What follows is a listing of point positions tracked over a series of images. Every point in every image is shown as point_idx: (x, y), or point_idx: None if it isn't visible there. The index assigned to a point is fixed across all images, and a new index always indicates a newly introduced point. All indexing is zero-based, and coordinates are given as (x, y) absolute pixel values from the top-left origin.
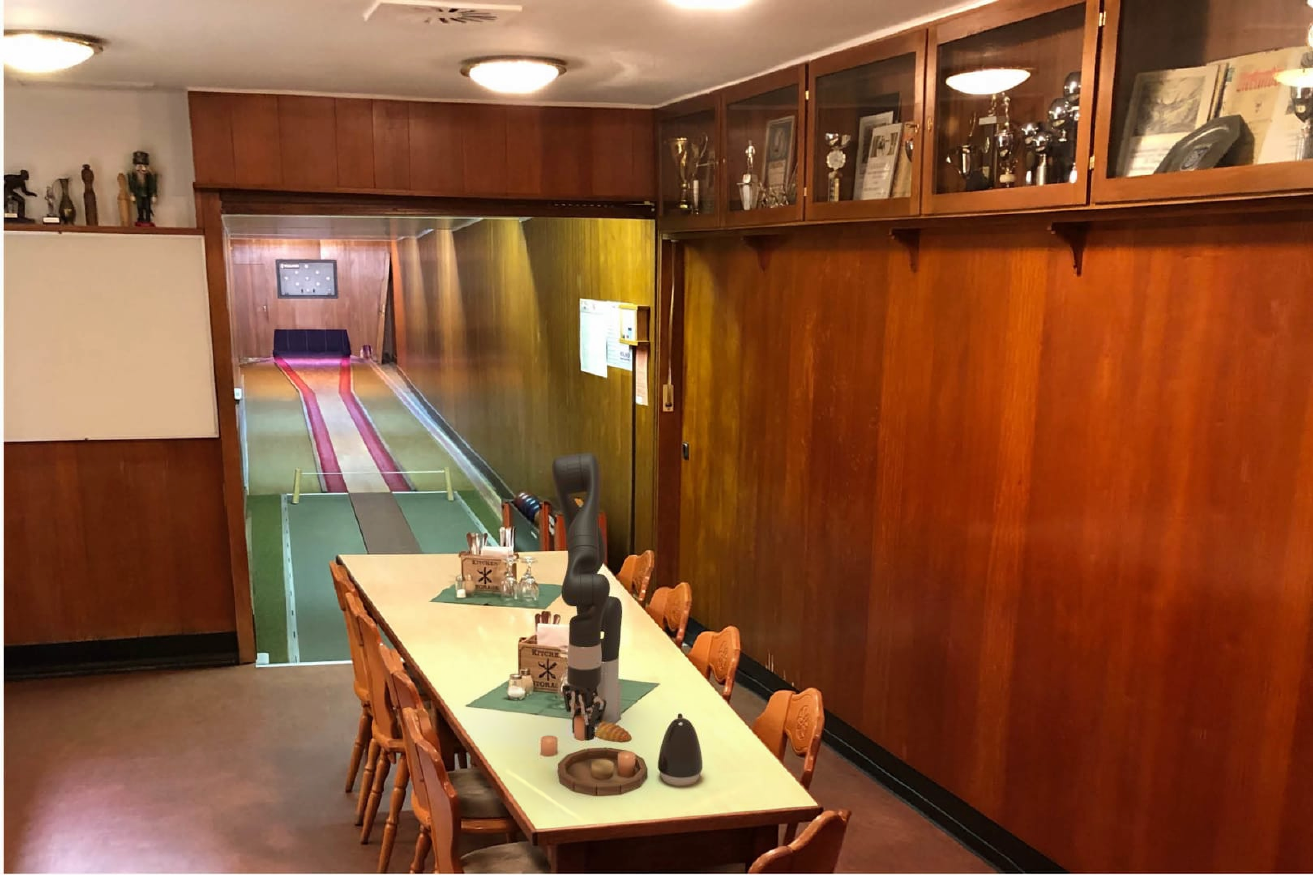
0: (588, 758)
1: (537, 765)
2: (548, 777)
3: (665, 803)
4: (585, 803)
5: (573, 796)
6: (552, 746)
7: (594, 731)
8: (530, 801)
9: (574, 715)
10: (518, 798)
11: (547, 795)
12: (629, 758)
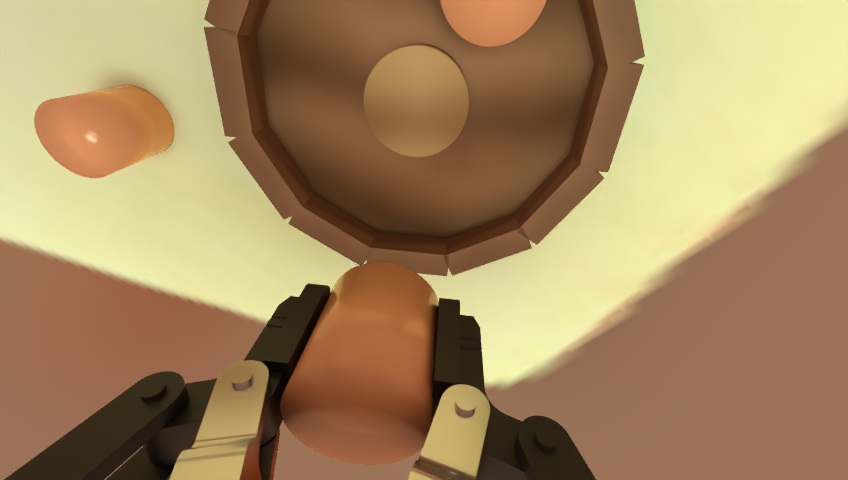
0: (256, 32)
1: (195, 196)
2: None
3: (784, 43)
4: (513, 256)
5: None
6: (132, 145)
7: (481, 352)
8: None
9: (279, 433)
10: None
11: None
12: (540, 10)
